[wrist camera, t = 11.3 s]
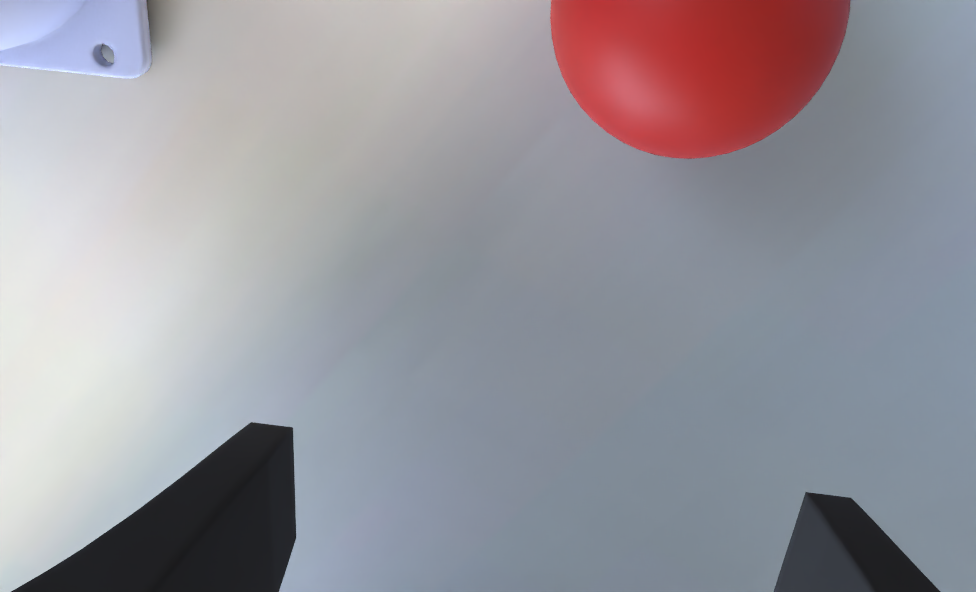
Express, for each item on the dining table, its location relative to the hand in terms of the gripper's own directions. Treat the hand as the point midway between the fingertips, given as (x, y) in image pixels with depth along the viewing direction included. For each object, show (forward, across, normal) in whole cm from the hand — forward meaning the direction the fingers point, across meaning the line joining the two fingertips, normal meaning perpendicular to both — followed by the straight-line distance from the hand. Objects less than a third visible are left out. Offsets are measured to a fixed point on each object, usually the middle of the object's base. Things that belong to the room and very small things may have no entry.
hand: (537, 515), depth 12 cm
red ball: (+10, -2, -6) cm, 12 cm away
